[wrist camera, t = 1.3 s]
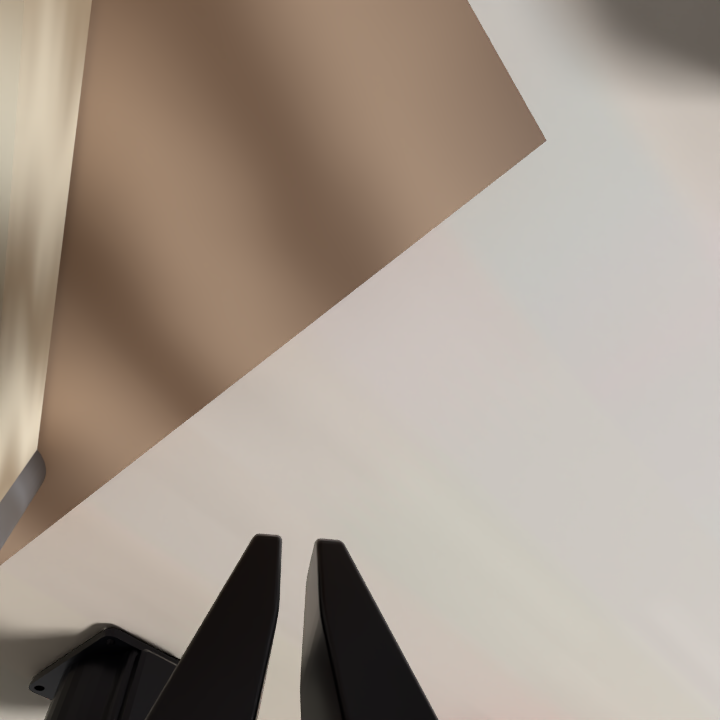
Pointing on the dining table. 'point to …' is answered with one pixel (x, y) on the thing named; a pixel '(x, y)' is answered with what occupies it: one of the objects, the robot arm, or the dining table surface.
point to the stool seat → (245, 198)
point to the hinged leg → (32, 219)
